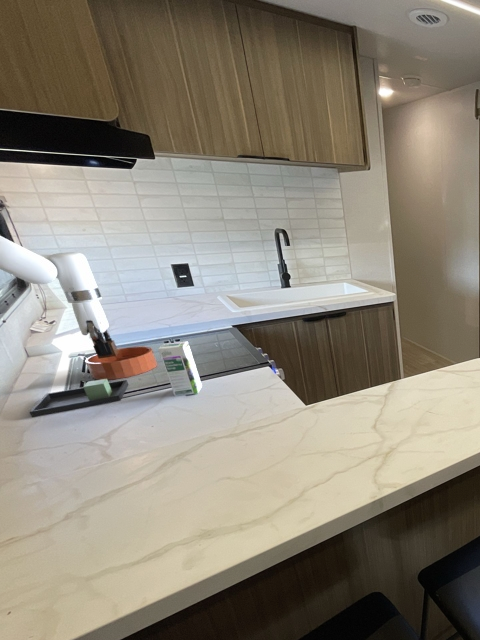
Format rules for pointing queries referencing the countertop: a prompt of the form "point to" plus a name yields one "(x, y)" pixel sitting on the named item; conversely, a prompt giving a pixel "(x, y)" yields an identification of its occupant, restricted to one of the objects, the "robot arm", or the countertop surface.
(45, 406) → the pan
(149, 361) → the bowl
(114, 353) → the walnut block
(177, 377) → the syrup box
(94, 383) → the sage block
